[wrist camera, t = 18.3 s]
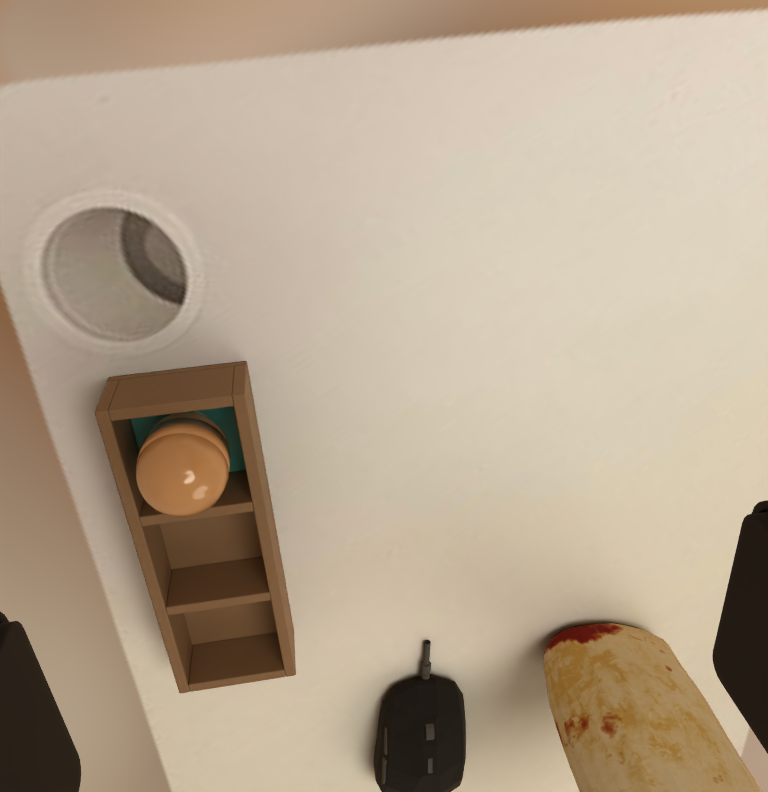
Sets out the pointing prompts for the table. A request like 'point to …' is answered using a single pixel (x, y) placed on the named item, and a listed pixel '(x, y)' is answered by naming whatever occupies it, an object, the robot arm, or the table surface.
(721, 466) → the table surface
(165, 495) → the egg
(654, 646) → the food model
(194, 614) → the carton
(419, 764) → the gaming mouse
